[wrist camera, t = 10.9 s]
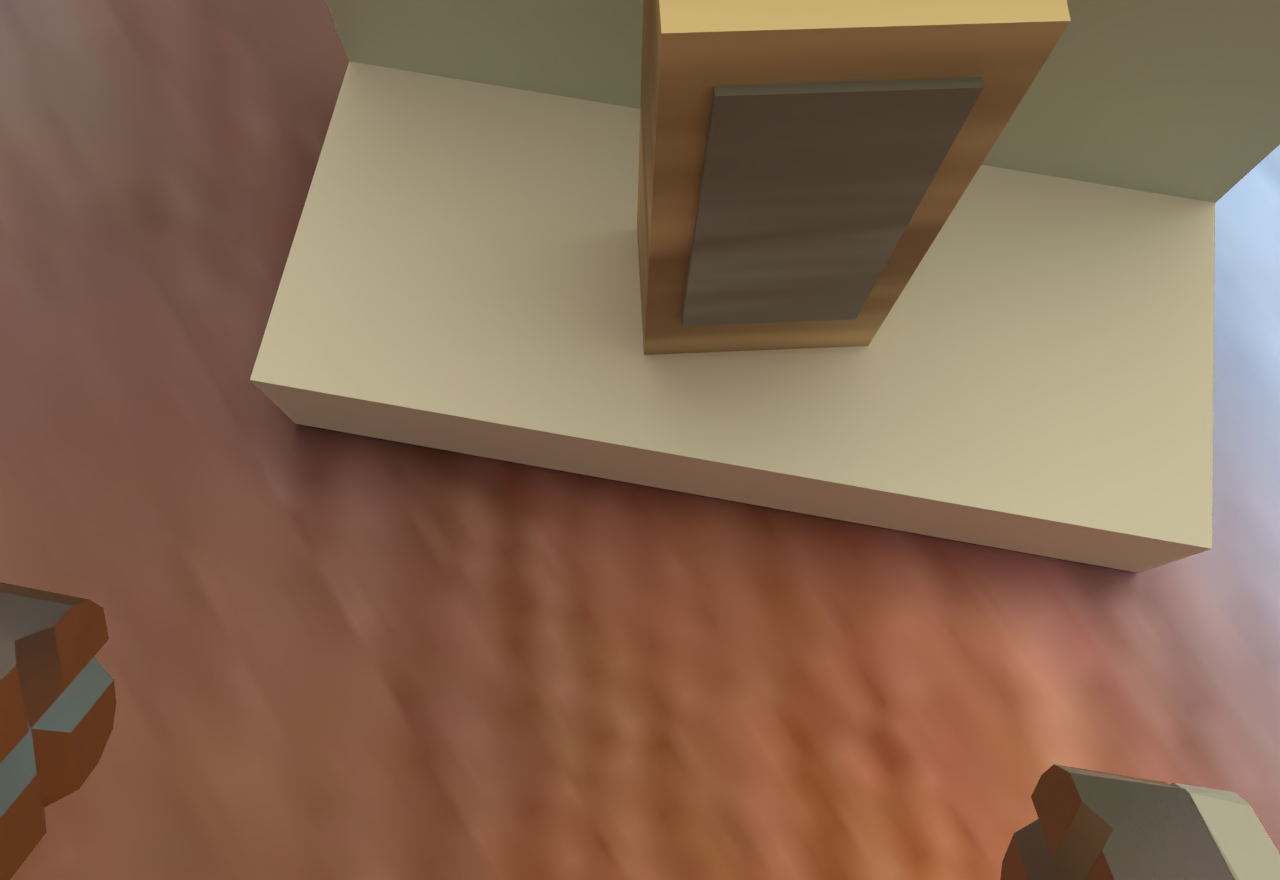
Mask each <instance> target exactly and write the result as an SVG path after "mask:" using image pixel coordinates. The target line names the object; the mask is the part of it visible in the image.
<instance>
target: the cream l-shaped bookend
mask: <svg viewBox="0 0 1280 880" xmlns="http://www.w3.org/2000/svg"><path fill="white" fill-rule="evenodd" d="M325 2H326V5H327V7H328V10H329V12H330V15H331V17H332V20H333V22H334V25H335V27H336V29H337V32H338V34H339V37H340V39H341V42H342V44H343V47H344V49H345V52H346V54H347V57H348V59H349V64H348V67H347V71H346V74H345V77H344V80H343V83H342V87H341V90H340V93H339V96H338V99H337V103H336V106H335V109H334V112H333V115H332V119H331V122H330V125H329V128H328V131H327V135H326V138H325V141H324V144H323V147H322V151H321V154H320V157H319V160H318V163H317V167H316V170H315V173H314V176H313V179H312V183H311V186H310V189H309V192H308V195H307V199H306V202H305V205H304V208H303V212H302V215H301V218H300V221H299V224H298V228H297V231H296V234H295V237H294V240H293V244H292V247H291V250H290V253H289V256H288V260H287V263H286V266H285V269H284V272H283V276H282V279H281V282H280V285H279V288H278V292H277V295H276V298H275V301H274V304H273V308H272V311H271V314H270V317H269V320H268V324H267V327H266V330H265V333H264V336H263V340H262V343H261V346H260V349H259V352H258V356H257V359H256V362H255V365H254V368H253V372H252V375H251V378H250V380H251V381H252V382H253V383H254V384H255V385H256V386H257V387H258V388H259V389H260V390H261V391H262V392H263V393H264V394H265V395H266V396H267V397H268V398H269V399H270V400H271V401H272V402H273V403H274V404H275V405H276V406H277V407H279V408H280V409H281V410H282V411H283V412H284V413H285V414H286V415H287V416H288V417H289V418H290V419H291V420H292V421H293V422H294V423H295V424H300V425H305V426H311V427H317V428H322V429H328V430H334V431H339V432H345V433H351V434H356V435H362V436H368V437H373V438H379V439H385V440H390V441H396V442H402V443H407V444H413V445H418V446H424V447H430V448H435V449H441V450H447V451H452V452H458V453H464V454H469V455H475V456H481V457H486V458H492V459H498V460H503V461H509V462H515V463H520V464H526V465H532V466H537V467H543V468H548V469H554V470H560V471H565V472H571V473H577V474H582V475H588V476H594V477H599V478H605V479H611V480H616V481H622V482H628V483H633V484H639V485H645V486H650V487H656V488H662V489H667V490H673V491H678V492H684V493H690V494H695V495H701V496H707V497H712V498H718V499H724V500H729V501H735V502H741V503H746V504H752V505H758V506H763V507H769V508H775V509H780V510H786V511H792V512H797V513H803V514H808V515H814V516H820V517H825V518H831V519H837V520H842V521H848V522H854V523H859V524H865V525H871V526H876V527H882V528H888V529H893V530H899V531H905V532H910V533H916V534H922V535H927V536H933V537H938V538H944V539H950V540H955V541H961V542H967V543H972V544H978V545H984V546H989V547H995V548H1001V549H1006V550H1012V551H1018V552H1023V553H1029V554H1035V555H1040V556H1046V557H1052V558H1057V559H1063V560H1068V561H1074V562H1080V563H1085V564H1091V565H1097V566H1102V567H1108V568H1114V569H1119V570H1125V571H1131V572H1136V573H1139V572H1142V571H1145V570H1148V569H1151V568H1154V567H1157V566H1160V565H1163V564H1166V563H1170V562H1173V561H1176V560H1179V559H1182V558H1185V557H1188V556H1191V555H1194V554H1197V553H1200V552H1203V551H1206V550H1210V549H1212V473H1213V370H1214V267H1215V202H1217V201H1218V200H1219V199H1220V198H1221V197H1222V196H1223V195H1224V194H1225V193H1227V192H1228V191H1229V190H1230V189H1231V188H1232V187H1233V186H1234V185H1235V184H1236V183H1238V182H1239V181H1240V180H1241V179H1242V178H1243V177H1244V176H1245V175H1246V174H1247V173H1249V172H1250V171H1251V170H1252V169H1253V168H1254V167H1255V166H1256V165H1257V164H1258V163H1260V162H1261V161H1262V160H1263V159H1264V158H1265V157H1266V156H1267V155H1268V154H1269V153H1271V152H1272V151H1273V150H1274V149H1275V148H1276V147H1277V146H1278V145H1279V144H1280V0H1067V5H1068V10H1069V15H1070V19H1071V21H1070V23H1069V24H1068V26H1067V28H1066V29H1065V31H1064V33H1063V34H1062V36H1061V37H1060V39H1059V41H1058V42H1057V44H1056V45H1055V47H1054V49H1053V50H1052V52H1051V53H1050V55H1049V57H1048V58H1047V60H1046V61H1045V63H1044V65H1043V66H1042V68H1041V69H1040V71H1039V73H1038V74H1037V76H1036V78H1035V79H1034V81H1033V82H1032V84H1031V86H1030V87H1029V89H1028V90H1027V92H1026V94H1025V95H1024V97H1023V98H1022V100H1021V102H1020V103H1019V105H1018V106H1017V108H1016V110H1015V111H1014V113H1013V114H1012V116H1011V118H1010V119H1009V121H1008V122H1007V124H1006V126H1005V127H1004V129H1003V131H1002V132H1001V134H1000V135H999V137H998V139H997V140H996V142H995V143H994V145H993V147H992V148H991V150H990V151H989V153H988V155H987V156H986V158H985V159H984V161H983V163H982V164H981V166H980V167H979V169H978V171H977V172H976V174H975V175H974V177H973V179H972V180H971V182H970V184H969V185H968V187H967V188H966V190H965V192H964V193H963V195H962V196H961V198H960V200H959V201H958V203H957V204H956V206H955V208H954V209H953V211H952V212H951V214H950V216H949V217H948V219H947V220H946V222H945V224H944V225H943V227H942V228H941V230H940V232H939V233H938V235H937V237H936V238H935V240H934V241H933V243H932V245H931V246H930V248H929V249H928V251H927V253H926V254H925V256H924V257H923V259H922V261H921V262H920V264H919V265H918V267H917V269H916V270H915V272H914V273H913V275H912V277H911V278H910V280H909V282H908V283H907V285H906V286H905V288H904V290H903V291H902V293H901V294H900V296H899V298H898V299H897V301H896V302H895V304H894V306H893V307H892V309H891V310H890V312H889V314H888V315H887V317H886V318H885V320H884V322H883V323H882V325H881V326H880V328H879V330H878V331H877V333H876V335H875V336H874V338H873V339H872V341H871V343H870V344H869V346H853V347H829V348H804V349H779V350H754V351H730V352H705V353H680V354H656V355H644V348H643V329H642V311H641V293H640V275H639V256H638V238H637V209H638V172H639V136H640V99H641V63H642V26H643V0H325Z"/></svg>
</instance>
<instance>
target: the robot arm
mask: <svg viewBox="0 0 1280 880" xmlns="http://www.w3.org/2000/svg"><path fill="white" fill-rule="evenodd" d="M108 639H109V637H108V631H107V626H106V620H105V614H104V609H103V607H101V606H99V605H98V604H96V603H94V602H93V601H91V600H88V599H83V598H78V597H73V596H68V595H63V594H58V593H53V592H47V591H42V590H37V589H32V588H27V587H22V586H17V585H12V584H6V583H1V582H0V880H10V879H11V878H12V877H13V875H14V874H15V873H16V872H17V870H18V869H19V868H20V866H21V865H22V864H23V862H24V861H25V860H26V858H27V857H28V856H29V855H30V853H31V852H32V851H33V849H34V848H35V847H36V845H37V844H38V843H39V841H40V840H41V839H42V838H43V836H44V835H45V834H46V822H45V810H44V807H46V806H48V805H50V804H52V803H54V802H56V801H57V800H59V799H61V798H63V797H65V796H67V795H69V794H71V793H73V792H75V791H77V790H79V789H80V787H81V786H82V784H83V783H84V782H85V780H86V779H87V778H88V776H89V775H90V773H91V772H92V771H93V769H94V768H95V767H96V765H97V764H98V762H99V760H100V758H101V756H102V753H103V751H104V748H105V746H106V743H107V741H108V739H109V736H110V734H111V731H112V729H113V722H114V715H115V707H116V695H115V686H114V679H113V678H112V677H111V676H110V675H109V673H108V672H107V671H106V670H105V669H104V668H103V666H102V665H101V664H100V663H99V662H98V661H97V659H96V658H95V657H94V656H95V655H96V653H97V652H98V651H99V650H100V649H101V648H102V646H103V645H104V644H105V643H106V642H107V641H108ZM1031 798H1032V800H1033V803H1034V806H1035V809H1036V812H1037V815H1038V818H1039V819H1038V820H1036V821H1034V822H1032V823H1031V824H1029V825H1027V826H1026V827H1024V828H1022V829H1021V830H1019V831H1017V832H1015V833H1014V835H1013V837H1012V840H1011V842H1010V844H1009V847H1008V849H1007V852H1006V854H1005V857H1004V859H1003V862H1002V871H1001V880H1280V854H1279V852H1278V850H1277V849H1276V847H1275V845H1274V844H1273V842H1272V840H1271V839H1270V837H1269V836H1268V834H1267V832H1266V831H1265V829H1264V827H1263V826H1262V824H1261V822H1260V821H1259V819H1258V817H1257V816H1256V814H1255V812H1254V811H1253V809H1252V808H1251V806H1250V805H1249V804H1248V803H1247V802H1246V801H1245V800H1243V799H1242V798H1241V797H1240V796H1238V795H1237V794H1236V793H1235V792H1230V791H1224V790H1217V789H1211V788H1204V787H1198V786H1191V785H1185V784H1178V783H1172V784H1168V783H1165V782H1159V781H1153V780H1147V779H1141V778H1135V777H1129V776H1123V775H1117V774H1110V773H1104V772H1098V771H1092V770H1086V769H1080V768H1074V767H1067V766H1061V765H1055V764H1054V765H1053V766H1051V767H1050V768H1049V769H1048V770H1047V771H1046V772H1045V773H1043V774H1042V775H1041V777H1040V779H1039V781H1038V784H1037V786H1036V788H1035V790H1034V792H1033V794H1032V796H1031Z"/></svg>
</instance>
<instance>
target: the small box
mask: <svg viewBox="0 0 1280 880" xmlns="http://www.w3.org/2000/svg"><path fill="white" fill-rule="evenodd" d="M1070 21H1071V19H1070V15H1069V10H1068V5H1067V0H643V26H642V63H641V99H640V136H639V172H638V209H637V238H638V256H639V275H640V293H641V311H642V329H643V348H644V355H656V354H680V353H705V352H730V351H754V350H779V349H804V348H829V347H853V346H869V344H870V343H871V341H872V339H873V338H874V336H875V335H876V333H877V331H878V330H879V328H880V326H881V325H882V323H883V322H884V320H885V318H886V317H887V315H888V314H889V312H890V310H891V309H892V307H893V306H894V304H895V302H896V301H897V299H898V298H899V296H900V294H901V293H902V291H903V290H904V288H905V286H906V285H907V283H908V282H909V280H910V278H911V277H912V275H913V273H914V272H915V270H916V269H917V267H918V265H919V264H920V262H921V261H922V259H923V257H924V256H925V254H926V253H927V251H928V249H929V248H930V246H931V245H932V243H933V241H934V240H935V238H936V237H937V235H938V233H939V232H940V230H941V228H942V227H943V225H944V224H945V222H946V220H947V219H948V217H949V216H950V214H951V212H952V211H953V209H954V208H955V206H956V204H957V203H958V201H959V200H960V198H961V196H962V195H963V193H964V192H965V190H966V188H967V187H968V185H969V184H970V182H971V180H972V179H973V177H974V175H975V174H976V172H977V171H978V169H979V167H980V166H981V164H982V163H983V161H984V159H985V158H986V156H987V155H988V153H989V151H990V150H991V148H992V147H993V145H994V143H995V142H996V140H997V139H998V137H999V135H1000V134H1001V132H1002V131H1003V129H1004V127H1005V126H1006V124H1007V122H1008V121H1009V119H1010V118H1011V116H1012V114H1013V113H1014V111H1015V110H1016V108H1017V106H1018V105H1019V103H1020V102H1021V100H1022V98H1023V97H1024V95H1025V94H1026V92H1027V90H1028V89H1029V87H1030V86H1031V84H1032V82H1033V81H1034V79H1035V78H1036V76H1037V74H1038V73H1039V71H1040V69H1041V68H1042V66H1043V65H1044V63H1045V61H1046V60H1047V58H1048V57H1049V55H1050V53H1051V52H1052V50H1053V49H1054V47H1055V45H1056V44H1057V42H1058V41H1059V39H1060V37H1061V36H1062V34H1063V33H1064V31H1065V29H1066V28H1067V26H1068V24H1069V23H1070Z"/></svg>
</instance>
